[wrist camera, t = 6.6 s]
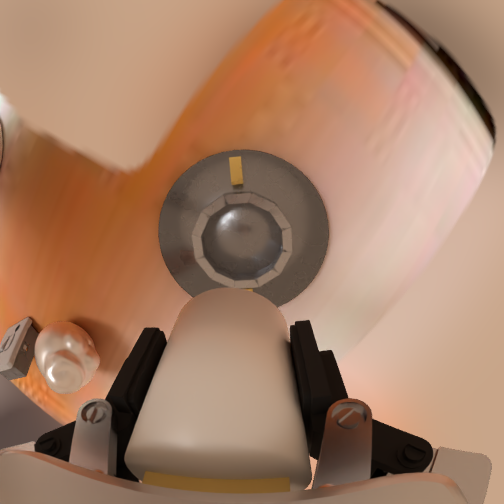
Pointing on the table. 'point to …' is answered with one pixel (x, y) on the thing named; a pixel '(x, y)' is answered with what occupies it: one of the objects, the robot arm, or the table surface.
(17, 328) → the electrical switch
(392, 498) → the robot arm
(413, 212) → the table surface
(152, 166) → the table surface
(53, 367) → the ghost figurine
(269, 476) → the white rounded cylinder
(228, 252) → the socket
